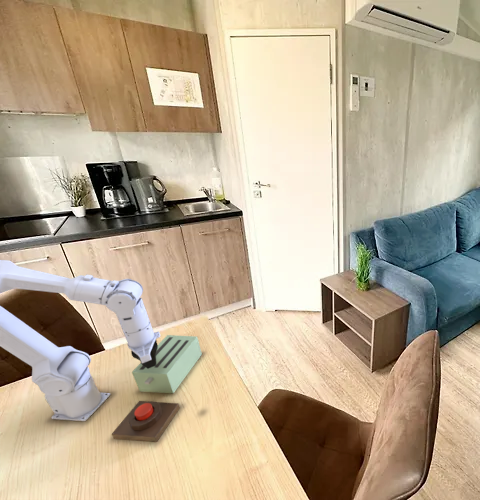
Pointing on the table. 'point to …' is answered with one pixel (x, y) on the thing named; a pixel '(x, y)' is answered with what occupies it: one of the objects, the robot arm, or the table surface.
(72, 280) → the robot arm
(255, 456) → the table surface
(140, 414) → the button
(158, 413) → the button base
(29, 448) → the table surface
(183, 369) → the toaster
